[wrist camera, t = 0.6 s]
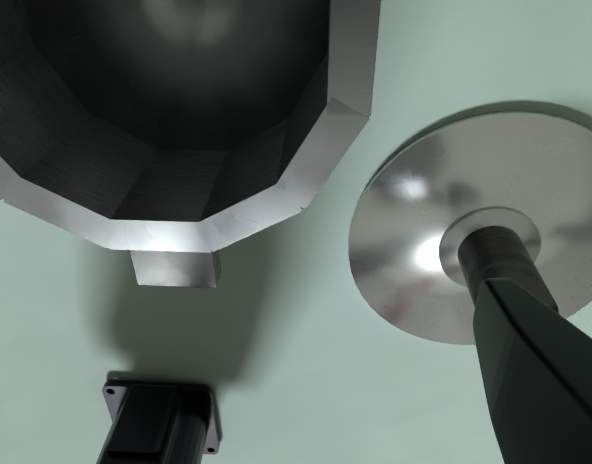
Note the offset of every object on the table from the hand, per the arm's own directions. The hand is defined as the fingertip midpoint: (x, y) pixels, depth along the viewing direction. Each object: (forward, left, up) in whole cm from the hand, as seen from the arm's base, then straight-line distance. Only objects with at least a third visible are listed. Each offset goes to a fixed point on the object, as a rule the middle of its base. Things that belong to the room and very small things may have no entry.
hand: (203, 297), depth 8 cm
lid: (-8, -10, -14) cm, 18 cm away
